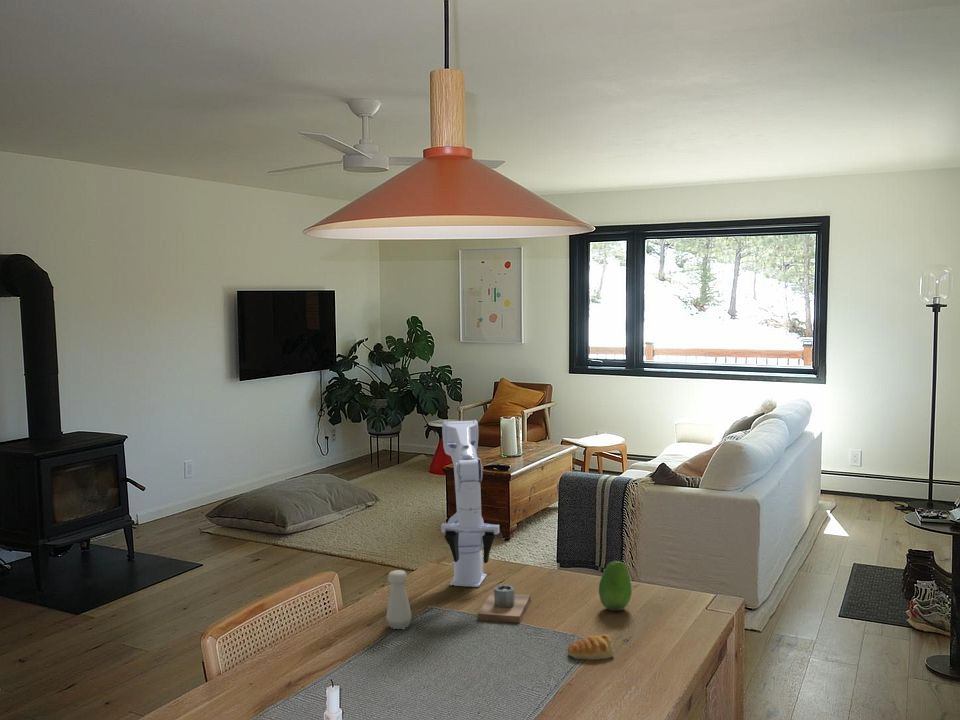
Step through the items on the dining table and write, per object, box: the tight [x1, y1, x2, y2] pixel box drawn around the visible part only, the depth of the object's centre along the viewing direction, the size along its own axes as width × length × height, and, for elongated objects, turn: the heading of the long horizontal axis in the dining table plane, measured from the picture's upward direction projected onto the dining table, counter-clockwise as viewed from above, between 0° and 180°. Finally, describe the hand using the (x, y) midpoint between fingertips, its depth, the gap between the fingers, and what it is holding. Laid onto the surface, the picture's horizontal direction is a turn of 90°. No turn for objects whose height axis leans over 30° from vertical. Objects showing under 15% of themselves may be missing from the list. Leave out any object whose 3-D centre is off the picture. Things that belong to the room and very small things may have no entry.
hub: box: [493, 584, 516, 608], centre depth 198 cm, size 5×5×4 cm
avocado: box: [598, 560, 632, 612], centre depth 196 cm, size 8×8×12 cm
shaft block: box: [477, 589, 531, 624], centre depth 198 cm, size 14×10×5 cm
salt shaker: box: [385, 569, 412, 630], centre depth 190 cm, size 6×6×13 cm
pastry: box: [567, 633, 615, 661], centre depth 173 cm, size 9×7×4 cm
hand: (471, 561), depth 205 cm, fingers open, 7 cm apart
